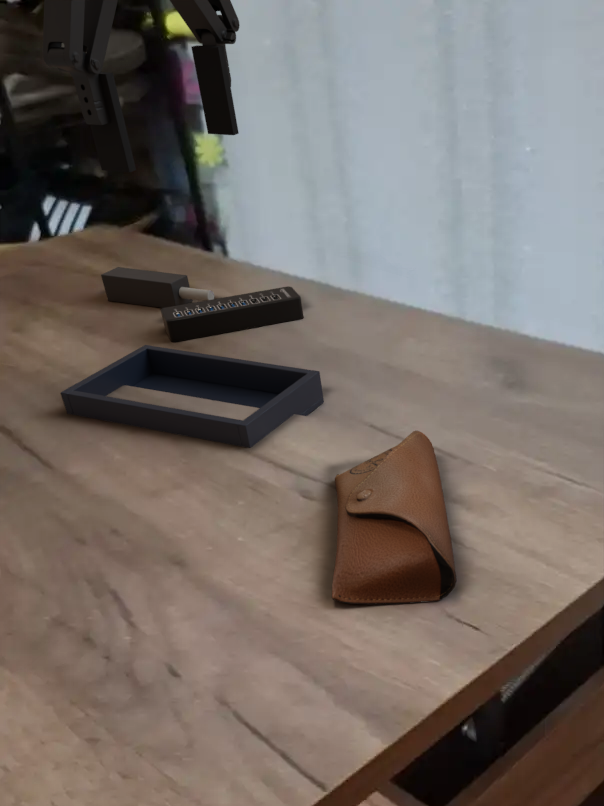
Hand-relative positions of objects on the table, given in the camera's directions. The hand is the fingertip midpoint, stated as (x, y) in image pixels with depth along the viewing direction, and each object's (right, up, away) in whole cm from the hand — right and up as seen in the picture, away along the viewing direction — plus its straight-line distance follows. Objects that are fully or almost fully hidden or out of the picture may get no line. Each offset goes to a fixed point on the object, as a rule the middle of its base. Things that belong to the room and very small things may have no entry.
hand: (174, 151), depth 78 cm
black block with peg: (-11, -1, +32) cm, 34 cm away
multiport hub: (-2, -6, +26) cm, 27 cm away
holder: (-1, -19, +8) cm, 21 cm away
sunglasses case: (+18, -32, -9) cm, 38 cm away
